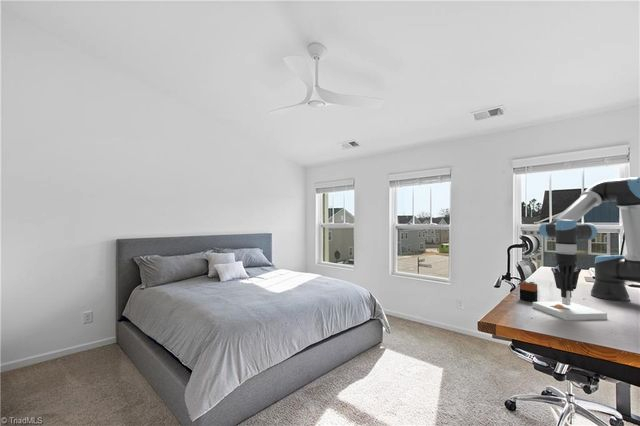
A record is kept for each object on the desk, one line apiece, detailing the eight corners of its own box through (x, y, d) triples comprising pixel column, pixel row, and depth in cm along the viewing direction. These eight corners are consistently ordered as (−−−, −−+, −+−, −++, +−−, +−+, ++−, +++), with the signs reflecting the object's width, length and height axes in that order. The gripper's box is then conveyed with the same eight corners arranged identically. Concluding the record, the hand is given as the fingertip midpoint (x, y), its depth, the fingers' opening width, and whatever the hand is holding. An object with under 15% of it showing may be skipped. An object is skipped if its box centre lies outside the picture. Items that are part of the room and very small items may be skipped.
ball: (556, 313, 137) (561, 306, 138) (564, 316, 133) (568, 308, 134) (549, 308, 137) (554, 301, 138) (557, 311, 133) (561, 303, 134)
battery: (534, 302, 152) (534, 283, 152) (519, 299, 157) (519, 280, 157) (537, 301, 154) (537, 282, 154) (522, 298, 160) (522, 279, 160)
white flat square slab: (568, 306, 146) (568, 301, 146) (607, 319, 128) (607, 313, 128) (532, 307, 144) (532, 302, 144) (566, 320, 126) (566, 314, 126)
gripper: (571, 252, 140) (571, 301, 140) (545, 252, 139) (546, 302, 139) (587, 254, 133) (587, 306, 133) (560, 254, 132) (560, 307, 132)
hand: (566, 304), depth 136 cm, fingers closed
